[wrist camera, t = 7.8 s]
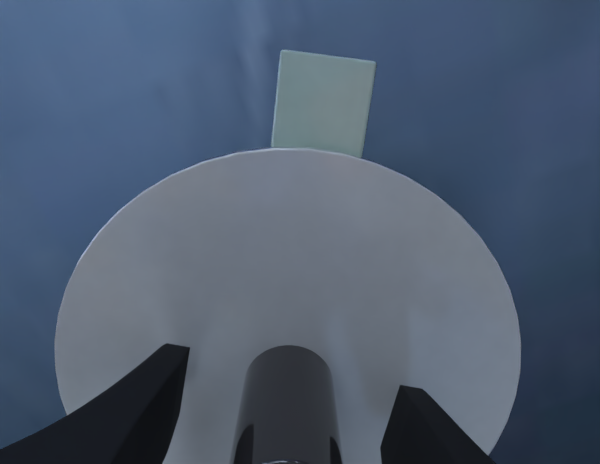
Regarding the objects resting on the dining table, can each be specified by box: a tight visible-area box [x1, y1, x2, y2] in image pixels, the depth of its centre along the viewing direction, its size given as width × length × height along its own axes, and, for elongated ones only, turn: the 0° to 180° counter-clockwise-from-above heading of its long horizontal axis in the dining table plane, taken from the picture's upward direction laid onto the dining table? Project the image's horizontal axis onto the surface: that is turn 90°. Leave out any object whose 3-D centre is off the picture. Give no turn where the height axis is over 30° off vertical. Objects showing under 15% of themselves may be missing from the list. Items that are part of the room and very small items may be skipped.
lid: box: [55, 146, 521, 464], centre depth 11 cm, size 13×13×5 cm
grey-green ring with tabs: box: [271, 49, 377, 157], centre depth 15 cm, size 12×17×4 cm
